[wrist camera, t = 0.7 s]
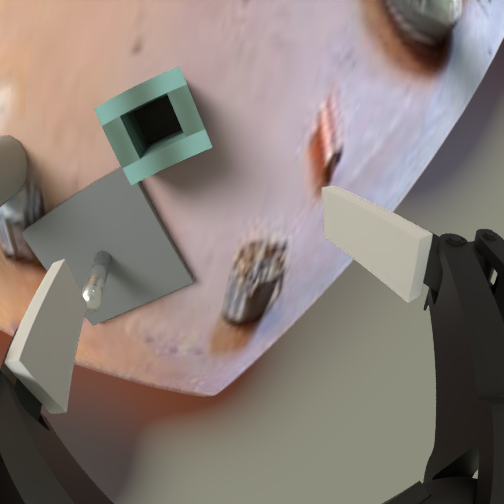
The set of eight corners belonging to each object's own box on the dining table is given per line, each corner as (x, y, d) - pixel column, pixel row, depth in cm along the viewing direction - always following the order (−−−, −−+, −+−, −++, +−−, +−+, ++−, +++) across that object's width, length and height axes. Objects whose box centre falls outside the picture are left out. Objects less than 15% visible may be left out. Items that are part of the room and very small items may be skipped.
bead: (178, 74, 25) (179, 66, 19) (204, 135, 30) (212, 147, 23) (113, 106, 25) (94, 108, 19) (141, 165, 30) (131, 185, 23)
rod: (105, 247, 32) (90, 292, 25) (115, 262, 33) (104, 308, 26) (91, 255, 32) (74, 300, 25) (101, 269, 33) (87, 316, 26)
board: (130, 161, 29) (127, 164, 28) (192, 276, 39) (193, 282, 38) (25, 228, 29) (21, 233, 27) (94, 318, 39) (93, 325, 38)
